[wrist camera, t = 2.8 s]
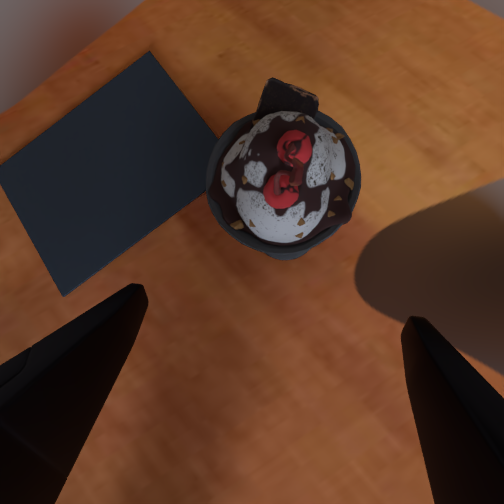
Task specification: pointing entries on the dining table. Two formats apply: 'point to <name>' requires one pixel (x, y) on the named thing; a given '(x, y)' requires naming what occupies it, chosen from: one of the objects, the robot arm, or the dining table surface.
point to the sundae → (283, 174)
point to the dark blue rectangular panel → (109, 172)
